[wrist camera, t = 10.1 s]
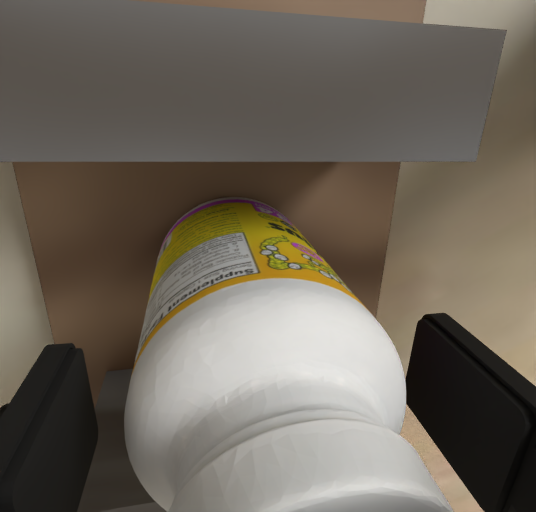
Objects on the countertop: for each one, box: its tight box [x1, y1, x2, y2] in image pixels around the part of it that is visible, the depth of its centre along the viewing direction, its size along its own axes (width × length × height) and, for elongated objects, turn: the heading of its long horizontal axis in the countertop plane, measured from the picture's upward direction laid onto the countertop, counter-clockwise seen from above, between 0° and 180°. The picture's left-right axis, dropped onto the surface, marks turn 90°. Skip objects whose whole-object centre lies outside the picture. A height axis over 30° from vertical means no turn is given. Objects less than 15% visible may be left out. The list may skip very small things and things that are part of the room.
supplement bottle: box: [124, 197, 454, 512], centre depth 11 cm, size 7×7×13 cm
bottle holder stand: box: [0, 0, 507, 512], centre depth 14 cm, size 24×16×8 cm, turn 179°
